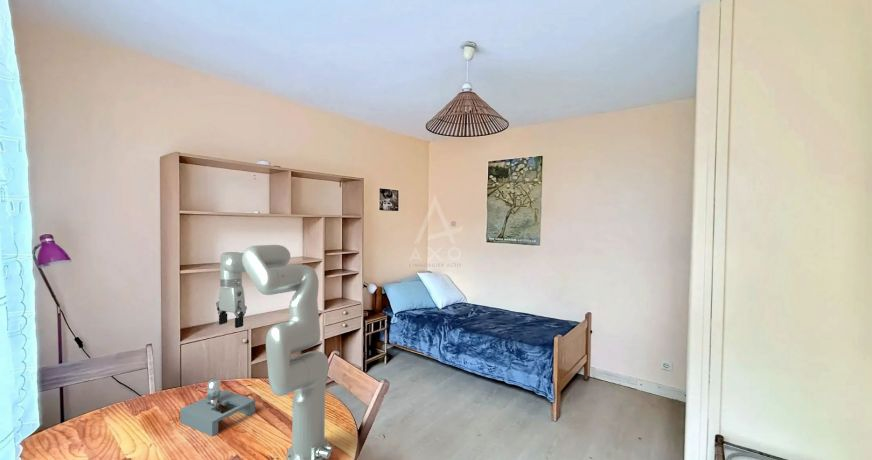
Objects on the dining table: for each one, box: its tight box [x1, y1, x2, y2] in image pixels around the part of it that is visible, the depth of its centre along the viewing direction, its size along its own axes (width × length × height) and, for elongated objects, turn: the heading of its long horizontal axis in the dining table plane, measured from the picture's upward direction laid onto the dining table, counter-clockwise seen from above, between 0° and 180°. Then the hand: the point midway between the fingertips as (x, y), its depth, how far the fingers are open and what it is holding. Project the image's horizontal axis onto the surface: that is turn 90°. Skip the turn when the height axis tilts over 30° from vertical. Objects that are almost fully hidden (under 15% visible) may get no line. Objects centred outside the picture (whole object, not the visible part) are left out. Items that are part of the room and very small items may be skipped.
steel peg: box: [206, 378, 222, 413], centre depth 128 cm, size 5×5×13 cm
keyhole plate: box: [179, 389, 256, 437], centre depth 126 cm, size 18×16×5 cm
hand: (230, 325), depth 138 cm, fingers open, 9 cm apart
